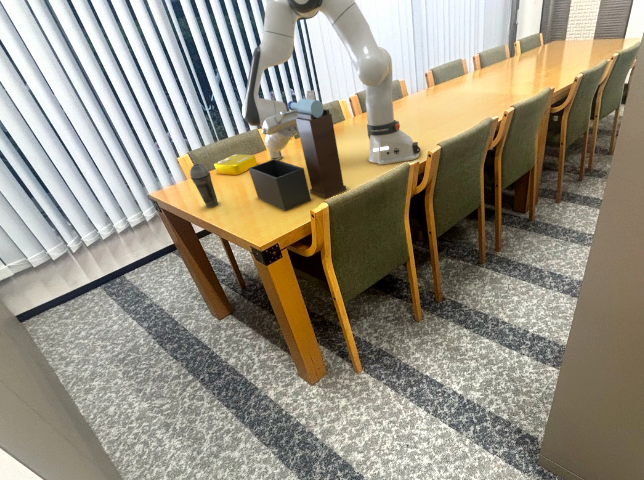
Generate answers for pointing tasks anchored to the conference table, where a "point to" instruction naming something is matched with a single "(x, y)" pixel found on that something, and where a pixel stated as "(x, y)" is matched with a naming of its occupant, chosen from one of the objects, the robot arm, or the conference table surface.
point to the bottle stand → (320, 153)
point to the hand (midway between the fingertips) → (295, 109)
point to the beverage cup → (203, 184)
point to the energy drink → (275, 154)
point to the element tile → (235, 164)
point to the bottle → (307, 107)
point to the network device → (310, 95)
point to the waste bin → (280, 184)
